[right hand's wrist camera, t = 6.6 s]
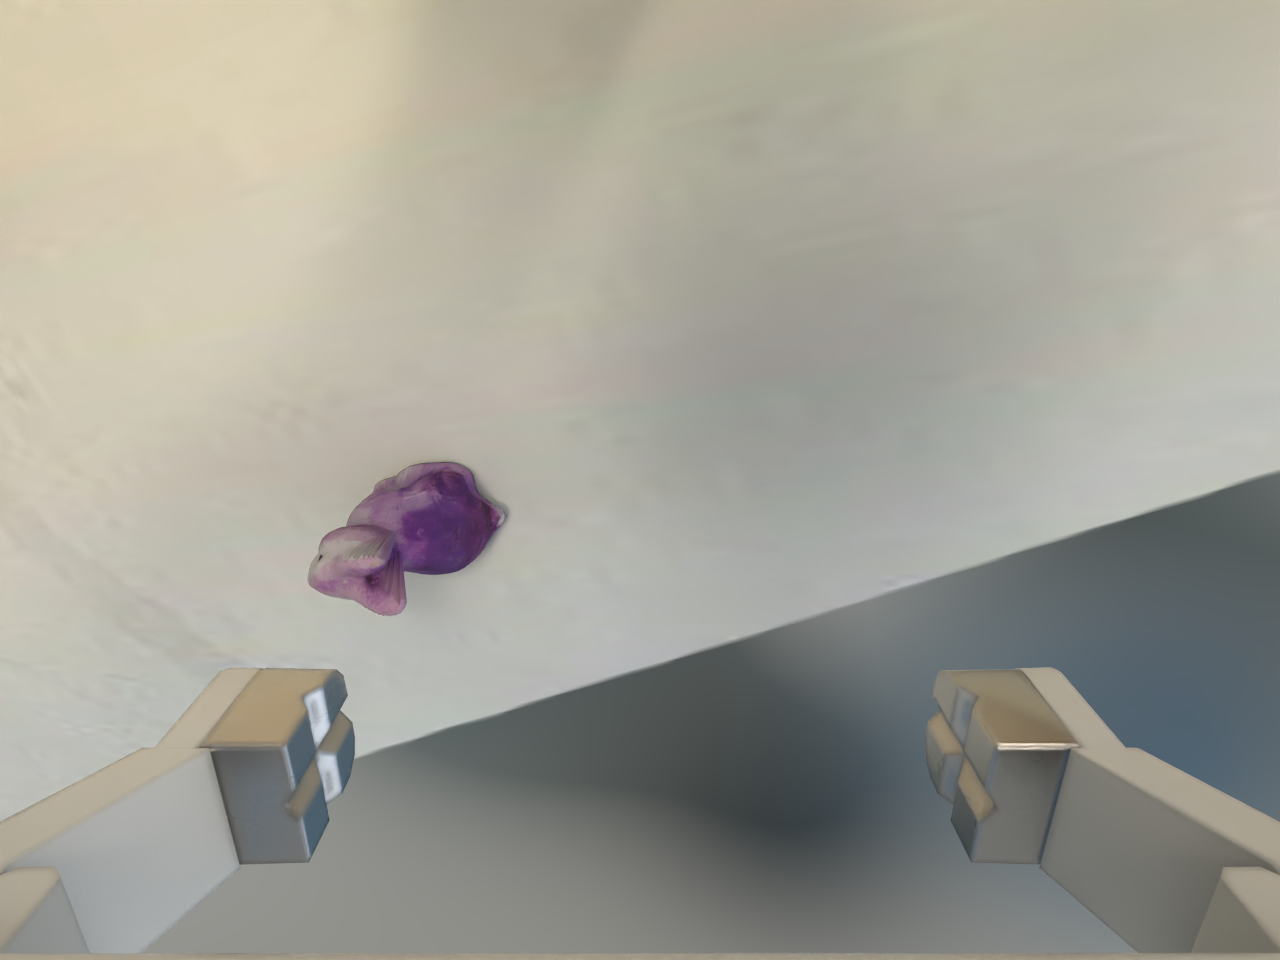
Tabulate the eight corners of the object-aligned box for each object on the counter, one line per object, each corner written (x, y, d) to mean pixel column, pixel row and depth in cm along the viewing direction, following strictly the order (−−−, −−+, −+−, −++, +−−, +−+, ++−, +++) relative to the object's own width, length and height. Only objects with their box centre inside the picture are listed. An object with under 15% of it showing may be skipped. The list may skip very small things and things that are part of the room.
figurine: (344, 510, 62) (257, 607, 48) (426, 427, 59) (361, 505, 45) (432, 584, 64) (375, 697, 50) (515, 508, 62) (479, 605, 48)
